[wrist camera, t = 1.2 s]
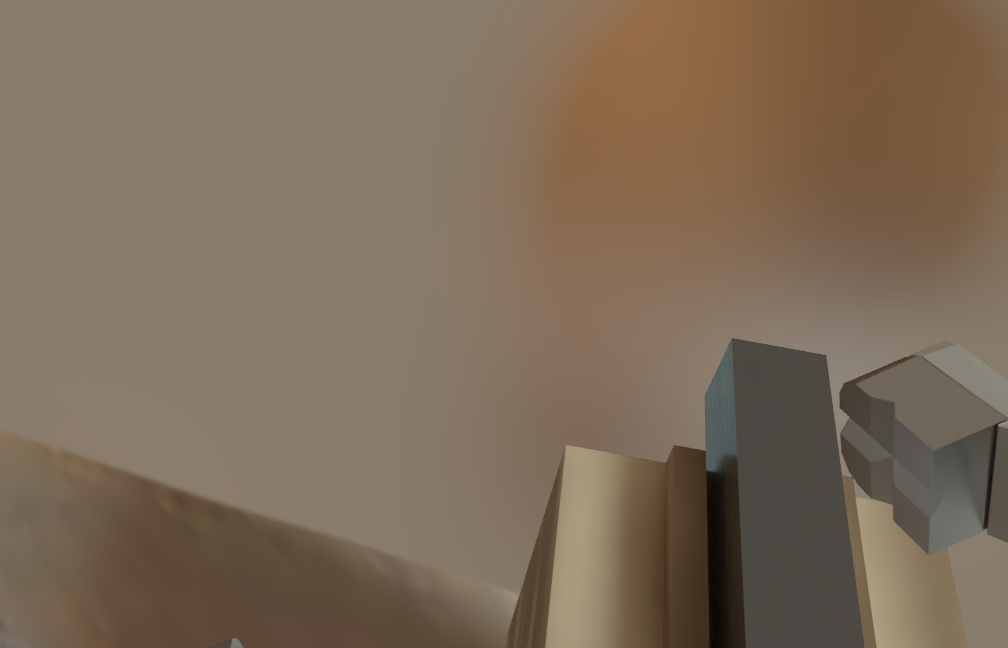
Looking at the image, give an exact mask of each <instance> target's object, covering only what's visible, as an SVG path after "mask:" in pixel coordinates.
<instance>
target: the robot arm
mask: <svg viewBox="0 0 1008 648" xmlns="http://www.w3.org/2000/svg"><path fill="white" fill-rule="evenodd" d="M840 409H842V410H843V411H844V412H845V413H846V414H847V415H848V416H849V419H848V421H847V422H846V424H845V426H844V428H843V429H842V431H841V433H840V437H841V451H842V455H843V457H844V460H845V463H846V465H847V468H848V470H849V472H850V474H851V475H852V477H853V478H854V480H855V481H856V482H857V484H858V485H859V486H860V487H861V489H863V491H864V492H865V493H866V494H867V495H868V496H869V497H870V498H872V499H875V500H878V501H881V502H885V503H888V504H891V505H893V521H894V522H895V523H896V524H897V525H898V526H899V527H900V528H901V529H902V530H903V531H904V532H905V533H906V534H907V535H908V536H909V537H910V538H911V539H912V540H913V541H914V542H915V543H916V544H918V545H919V546H920V547H921V548H922V549H923V550H924V551H925V552H926V553H927V554H928V555H930V554H933V553H935V552H937V551H940V550H942V549H944V548H947V547H949V546H951V545H954V544H956V543H958V542H961V541H963V540H966V539H968V538H970V537H973V536H975V535H978V534H980V533H983V532H985V531H987V534H988V535H990V536H993V537H995V538H998V539H1000V540H1003V541H1005V542H1008V380H1007V379H1005V378H1004V377H1003V376H1001V375H1000V374H998V373H997V372H996V371H994V370H993V369H991V368H990V367H988V366H987V365H986V364H984V363H983V362H981V361H980V360H978V359H977V358H976V357H974V356H972V355H971V354H970V353H968V352H967V351H965V350H964V349H962V348H961V347H960V346H958V345H957V344H955V343H953V342H948V341H942V342H940V343H937V344H935V345H933V346H930V347H928V348H926V349H924V350H921V351H919V352H916V353H914V354H911V355H910V356H909V357H904V358H902V359H900V360H897V361H895V362H893V363H890V364H888V365H886V366H883V367H881V368H879V369H877V370H874V371H872V372H869V373H867V374H865V375H862V376H860V377H858V378H855V379H853V380H851V381H848V382H846V383H844V384H843V386H842V388H841V391H840ZM208 648H244V647H243V646H242V644H241V643H240V641H239V640H238V639H236V638H231V639H229V640H226V641H224V642H221V643H219V644H216V645H213V646H211V647H208Z"/></svg>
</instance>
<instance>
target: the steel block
mask: <svg viewBox="0 0 1008 648" xmlns="http://www.w3.org/2000/svg"><path fill="white" fill-rule="evenodd" d="M705 430H706V484H707V538H708V592H709V646H710V648H865V647H864V639H863V631H862V624H861V616H860V609H859V601H858V594H857V586H856V578H855V571H854V563H853V556H852V548H851V541H850V533H849V526H848V518H847V510H846V503H845V495H844V488H843V480H842V473H841V466H840V457H839V450H838V443H837V436H836V427H835V420H834V412H833V404H832V398H831V390H830V382H829V375H828V367H827V359H826V355H822V354H816V353H811V352H805V351H800V350H794V349H789V348H783V347H778V346H772V345H767V344H761V343H755V342H750V341H744V340H739V339H733V338H732V339H731V341H730V343H729V346H728V348H727V350H726V352H725V354H724V356H723V358H722V360H721V363H720V365H719V367H718V369H717V371H716V373H715V375H714V378H713V380H712V382H711V384H710V386H709V388H708V391H707V392H706V395H705Z"/></svg>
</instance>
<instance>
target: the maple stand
mask: <svg viewBox="0 0 1008 648" xmlns="http://www.w3.org/2000/svg"><path fill="white" fill-rule="evenodd" d="M842 480H843V488H844V495H845V503H846V510H847V518H848V526H849V533H850V541H851V548H852V556H853V563H854V571H855V578H856V586H857V594H858V601H859V609H860V616H861V624H862V631H863V639H864V647H865V648H968V647H967V643H966V638H965V633H964V629H963V624H962V619H961V614H960V609H959V604H958V599H957V594H956V590H955V585H954V580H953V575H952V571H951V566H950V561H949V556H948V551H947V548H944V549H942V550H940V551H937V552H935V553H933V554H930V555H928V554H927V553H926V552H925V551H924V550H923V549H922V548H921V547H920V546H919V545H918V544H916V543H915V542H914V541H913V540H912V539H911V538H910V537H909V536H908V535H907V534H906V533H905V532H904V531H903V530H902V529H901V528H900V527H899V526H898V525H897V524H896V523H895V522H894V521H893V505H891V504H888V503H885V502H879V501H874V500H868V499H863V498H857V497H855V490H854V483H853V477H847V476H842ZM503 648H710V646H709V592H708V538H707V484H706V451H703V450H698V449H692V448H687V447H681V446H676V445H674V446H673V448H672V451H671V453H670V455H669V457H668V459H667V461H666V463H663V462H657V461H652V460H646V459H640V458H635V457H629V456H624V455H618V454H613V453H607V452H602V451H596V450H590V449H585V448H579V447H574V446H568V445H566V446H565V450H564V453H563V456H562V459H561V462H560V466H559V469H558V472H557V476H556V479H555V482H554V485H553V488H552V492H551V495H550V498H549V501H548V505H547V508H546V511H545V514H544V518H543V521H542V524H541V527H540V531H539V534H538V537H537V540H536V544H535V547H534V550H533V553H532V556H531V560H530V563H529V566H528V569H527V573H526V576H525V579H524V583H523V586H522V589H521V592H520V595H519V599H518V602H517V605H516V608H515V612H514V615H513V618H512V621H511V625H510V628H509V631H508V634H507V637H506V641H505V644H504V647H503Z"/></svg>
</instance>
